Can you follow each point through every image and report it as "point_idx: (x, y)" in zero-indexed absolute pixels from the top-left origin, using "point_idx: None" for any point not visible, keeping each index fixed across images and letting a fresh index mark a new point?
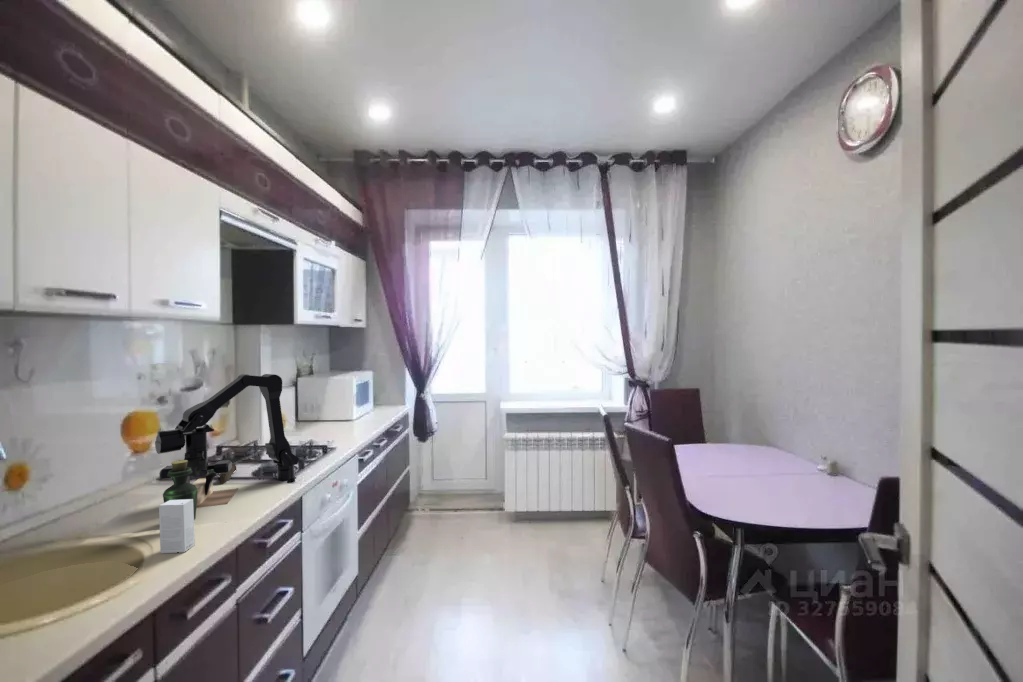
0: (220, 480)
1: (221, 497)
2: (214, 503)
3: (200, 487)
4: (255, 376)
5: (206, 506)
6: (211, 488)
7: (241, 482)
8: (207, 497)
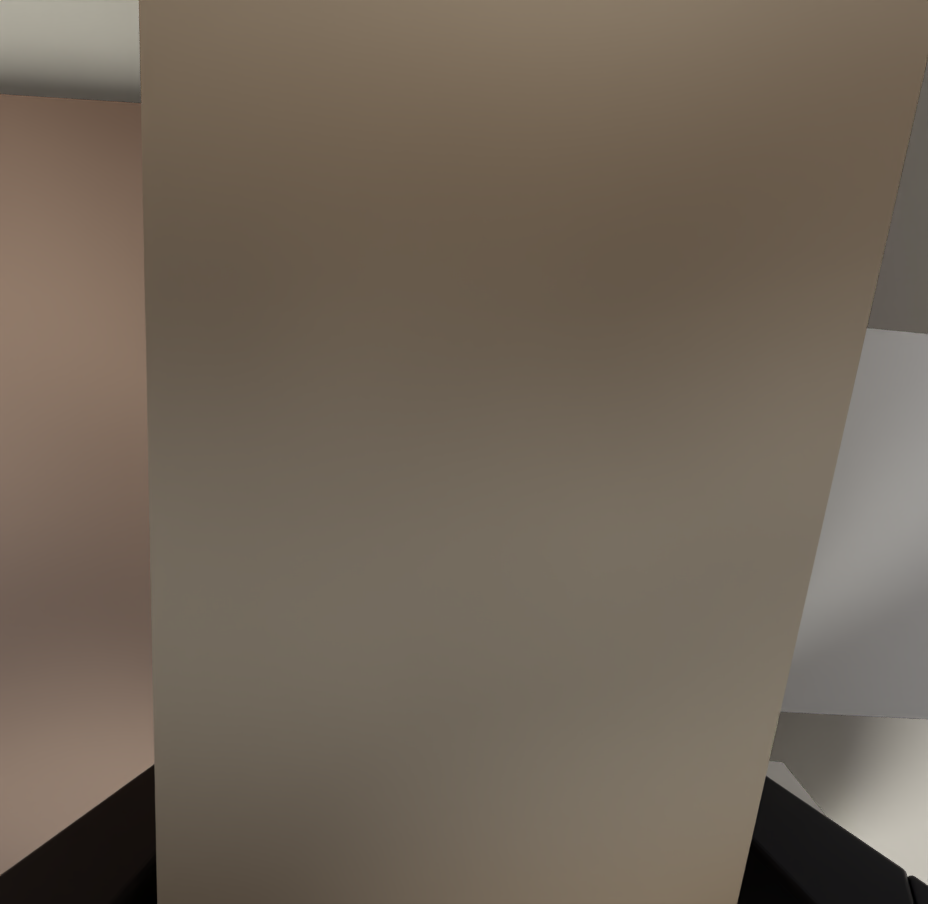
0: None
1: (6, 637)
2: (11, 260)
3: (160, 502)
4: None
5: (133, 107)
6: None
7: None
8: None
